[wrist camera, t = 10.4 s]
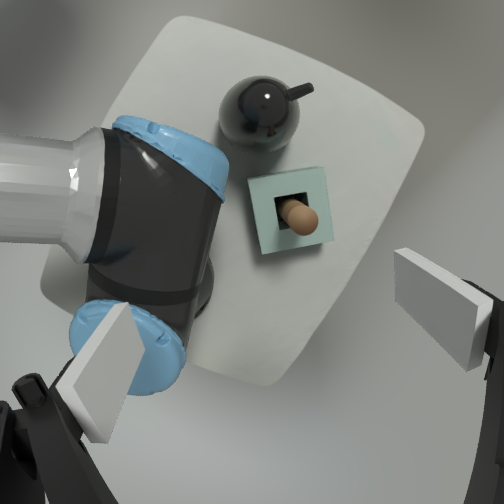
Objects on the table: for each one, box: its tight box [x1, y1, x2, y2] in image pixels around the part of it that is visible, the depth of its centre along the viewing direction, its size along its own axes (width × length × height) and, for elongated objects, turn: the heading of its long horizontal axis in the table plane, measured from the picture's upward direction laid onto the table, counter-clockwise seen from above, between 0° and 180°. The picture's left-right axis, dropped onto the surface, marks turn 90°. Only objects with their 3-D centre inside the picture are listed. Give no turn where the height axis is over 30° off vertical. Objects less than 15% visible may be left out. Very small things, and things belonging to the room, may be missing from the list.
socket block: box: [247, 167, 334, 255], centre depth 44 cm, size 10×10×5 cm
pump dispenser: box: [219, 76, 314, 155], centre depth 36 cm, size 10×10×15 cm
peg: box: [276, 196, 319, 236], centre depth 41 cm, size 3×3×12 cm
